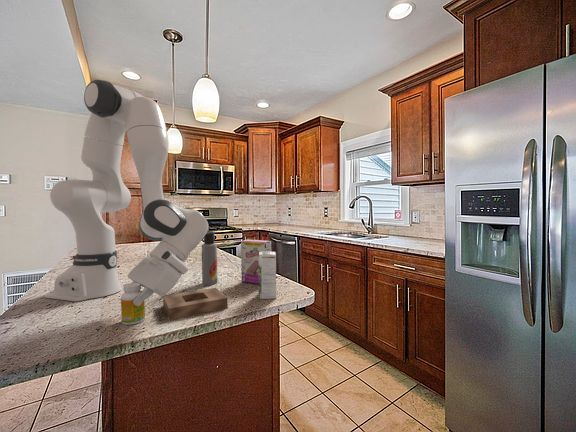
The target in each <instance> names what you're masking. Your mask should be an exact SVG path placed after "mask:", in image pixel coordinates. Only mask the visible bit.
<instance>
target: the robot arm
mask: <svg viewBox="0 0 576 432" xmlns="http://www.w3.org/2000/svg"><path fill="white" fill-rule="evenodd" d="M83 100H84V105H85V107H86V109H87V110H88V111H89V112H91V114H90V115H89V117H88V121H87V124H86V129H85V132H84V137H83V143H82V150H81V155H80V157H81V161H82V163H83V164H84V165H85V166H86V167H88V168H89V169H90V170H91V175H92V180H90V179H88V180H87V179H76V178H74V179H66V180H65V179H64V180H60V181H57V182H56V183H55V184H54V185H53V186H52V188H51V189H50V194H49V195H50V197H49V198H50V201H51V203H52V205H53V206H54V208H56V209H57V210H58V211H60V212H61V213H63V214H64V216H66V217H67V218H68V219H69V222H70V223H71V224H72V227H73V230H74V232H75V239H76V240H75V241H76V252H77V253H76V254H75V255H72V256H70V259H69V261H73V262H72V265H71V266H69V267H68V268H67V269H66V270H65V271H63V272H62V273H61V274H60V275H59V274H58V276H57V277H56V278H55V280H54V285H53V287H54V288H53V289H54V290H51V291H49V292H47V293H46V294H45V296H44V298H45V299H53V300H54V299H55V300H62V301H69V302H70V301H71V302H81V301H85V300H89V299H96V298H102V297H106V296H107V297H108V296H110V295H114V294H115V293H119V292H120V291H122V289H123V287H122V285H121V281H120V277H119V273H118V265H117V264H118V251H117V250H116V233H115V232H116V231H115V229H114V227H112V226H111V225H109V224H108V223H106V221H104V219H103V216H102V213H115V212H117V211H118V212H119V211H122V210H126V208H128V207H129V206H130V205H131V204H130V203H131V200H132V194H131V191H130V189H129V188H128V187H127V186H126V184H125V183H124V181H123V178H122V175H121V174H122V173H121V161H122V156H123V155H122V154H123V149H124V143H125V135H126V137H127V141H128V142H127V143H128V145H129V146H128V148H129V150H130V153H131V154H130V155H131V156H132V159H133V163H134V165H135V169H136V172H137V175H138V180H139V185H140V194H141V201H142V213H141V216H140V218H139V221H138V229H139V232H140V234H141V235H142V236H143V237H144V238H145V239H147V240H150V241H152V242H154V241H155V242H159V243H157V245H156V246H155V247H154V248H153V250H151V252H150V253H149V256H148V257H147V256H146V257H144V258H143V259H141V260H140V261H139V262H138V263H137V264H136V265H135V266H134V267H133V268H132V269H131V271H129V273H128V274H127V278H128V279H129V280H130V281H132V282H131V283H139V284H141V288H142V287H143V289H142V291H143V292H142V293H141V294H140V295H139V296H136V297H135V298H134V299H133V300H132V303H133V304H135V305H136V306H140V305H141V303H142V302H143V301H144V302H145V301H146V300H148V299H149V298H150V297H151V296H152V295H153V294H156V295H158V296H159V297H163V296H167V294H168V293H170V291H171V290H172V289H173V288H174V286H175V285H176V284H177V283H178V282H179V280H180V279H181V277H182V275H185V274H187V272H188V270H189V267H188V266H187V264H186V260H187V259H188V257H189V256H190V254H191V252H192V251H193V250H195V249H196V248H197V247H198V246H199V245H200V243H201V242H202V241H203V240H204V236H205V235H206V233H207V232H209V228H210V227H209V223H208V220H207V218H206V217H205V216H204V215H203V214H202V212H200V211H199V210H197V209H188V208H185V207H181V206H178V205H177V204H174V203H172V202H171V201H170V200H166V199H165V198H164V197H165V196H164V191H163V190H164V189H163V174H164V169H165V165H166V163H167V159H168V156H169V137H168V129H167V125H166V122H165V118H164V115H163V112H162V110H161V108H160V105H159V104H158V102H156V101H155V100H154V99H152V98H151V97H147V96H144V95H142V94H141V93H139V92H136V91H135V90H132V89H130V88H126V87H123V86H120V85H117V84H114V83H112V82H110V81H107V80H103V79H94V80H92V81H90V82H89V83H88V84H87V86H85V90H84V95H83Z"/></svg>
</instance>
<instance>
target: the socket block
mask: <svg viewBox="0 0 576 432" xmlns="http://www.w3.org/2000/svg"><path fill="white" fill-rule="evenodd" d="M162 301H163V302H162V304H163V305H162V306H163V308H164V310H165V313H166V316H167V319H168V320H175V319H179V318H184V317H189V316H194V315H201V314H203V313H209V312H214V311H215V312H216V311H219V310H224V309H228V305H229V304H228V301H229V300H228V297H227V296H226V295H225V294H224V293H222V292H221V291H220V290H219V289H218V288H217V287H212V288H211V287H210V288H206V289H198V290H194V291H193V290H192V291H187V292H186V291H185V292H180V293H175V294H174V293H173V294H168V295H167V294H166V295H164V296H162Z"/></svg>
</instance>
